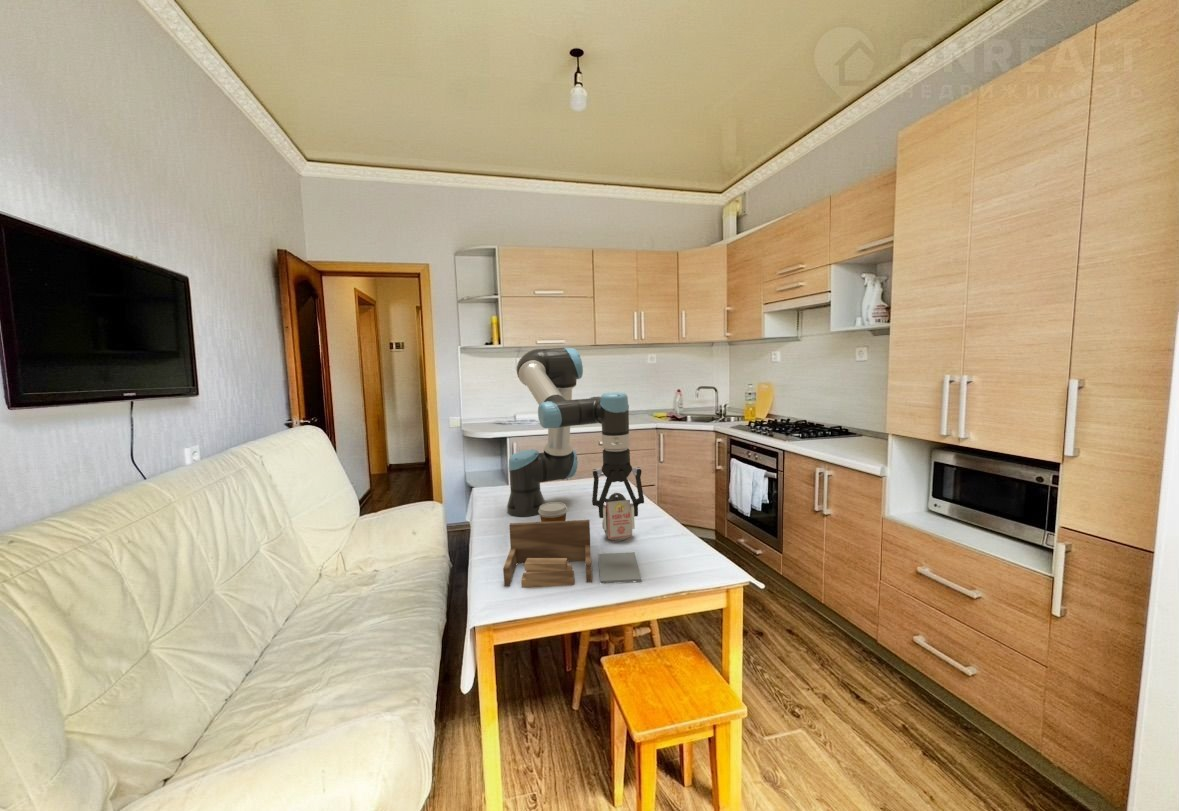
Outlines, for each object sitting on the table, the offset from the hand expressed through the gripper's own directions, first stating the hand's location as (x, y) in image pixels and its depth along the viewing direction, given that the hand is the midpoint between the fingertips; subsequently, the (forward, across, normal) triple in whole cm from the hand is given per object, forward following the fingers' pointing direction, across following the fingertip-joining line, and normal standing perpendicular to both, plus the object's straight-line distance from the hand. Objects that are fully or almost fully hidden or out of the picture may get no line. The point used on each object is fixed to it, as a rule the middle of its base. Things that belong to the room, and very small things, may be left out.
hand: (618, 527), depth 126 cm
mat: (+12, 0, -1) cm, 12 cm away
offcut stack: (+12, -20, -7) cm, 24 cm away
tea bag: (+2, 0, 0) cm, 2 cm away
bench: (+12, -20, -1) cm, 23 cm away
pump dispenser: (+12, +1, +20) cm, 23 cm away
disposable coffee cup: (+12, -20, +19) cm, 30 cm away
